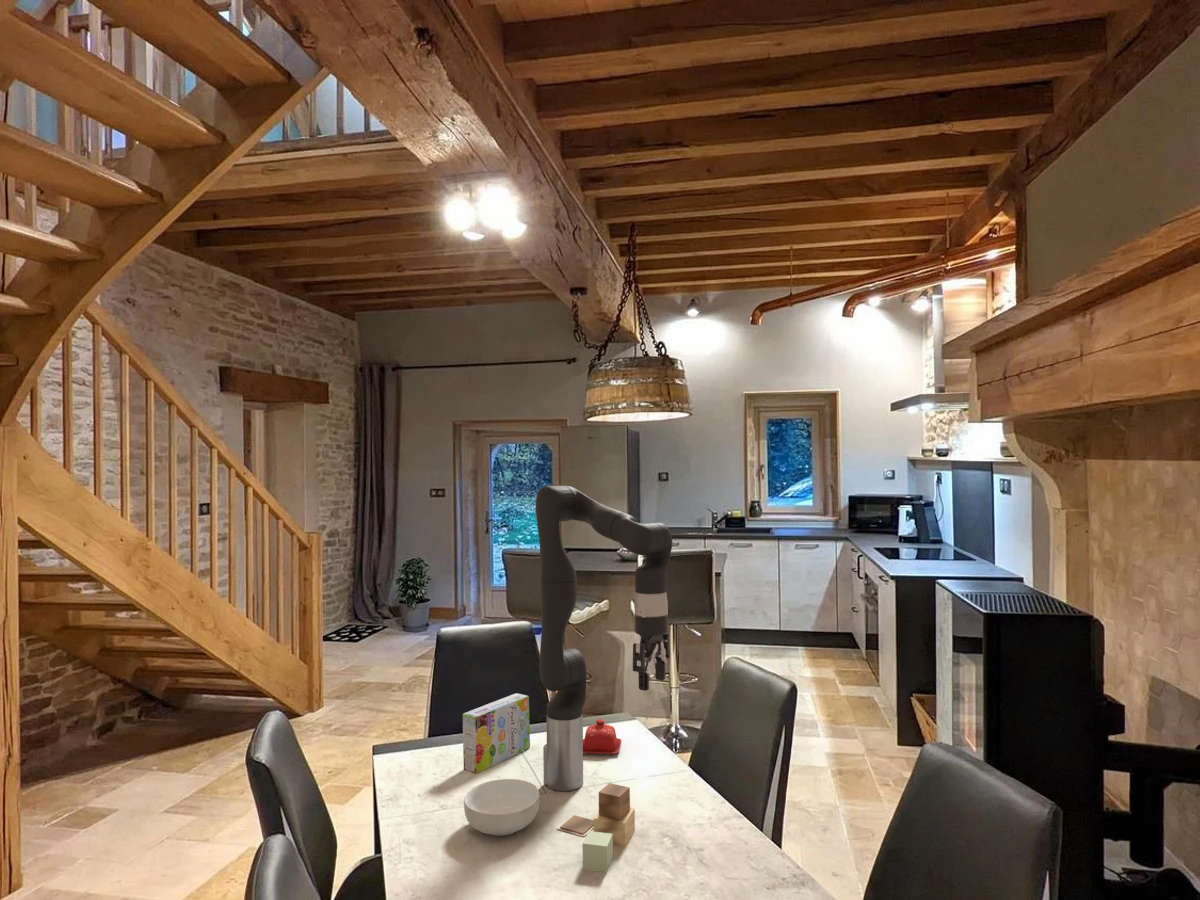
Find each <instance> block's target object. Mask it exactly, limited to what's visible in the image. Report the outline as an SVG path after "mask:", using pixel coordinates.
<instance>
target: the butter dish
mask: <svg viewBox="0 0 1200 900" xmlns="http://www.w3.org/2000/svg"><path fill="white" fill-rule="evenodd" d="M605 722H606V721H605V719H602V718H597V719H596V721H595V723H596V724H591V725H589V726H587V728H586V731H585V735H584V737H583V754H586V755H589V754H590V755H616V754H618V753H619V752H620V751H621V745H622V739H621V738H618V737H617V732H616V728H615V727H614V726H613V725H610V724H607V723H605Z"/></svg>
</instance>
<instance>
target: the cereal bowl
mask: <svg viewBox="0 0 1200 900" xmlns="http://www.w3.org/2000/svg"><path fill="white" fill-rule="evenodd" d="M539 808H540V790H539V789H538V787H537V786H536V785H534V784H533V782H532V783H531V781H530V782H529V781H527V780H523V779H517V778H499V779H494V780H493V779H492V780H489V781H485V782H482V783H479V784H477V785H475V786H473V787H472V788H471V789H469V790H468V791H467V792H466V793H465V794H464V798H463V811H464V815H465V818H466V821H468V824H469V825H470V826H472V828H474V829H475V830H477V831H479V832H480V833H484V834H488V835H492V836H495V837H497V836H501V837H502V836H508V835H512V834H513V833H515V832H518V831H521V830H522V829H523V828H526V827H527V826H528V825H529V824H531V823H532V822H533V820H534V819H535V818H536V816H537V814H538V812H539Z"/></svg>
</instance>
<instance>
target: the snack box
mask: <svg viewBox="0 0 1200 900" xmlns="http://www.w3.org/2000/svg"><path fill="white" fill-rule="evenodd" d="M530 731H531V730H530V697H529V695H526V694H521V693H518V692H517V693H513V694H510V695H508V696H506V697H503V698H500V699H497V700H495V701H492V702H489V703H488V704H487V703H486V704H484V705H482V706H480V707H476V708H474V709H471V710H469V711H467V712H464V713H462V744H463V745H462V749H463V750H462V751H463V752H462V753H463V754H462V755H463V770H464V771H468V772H472V773H474V774H479V773H481V772H483V771H485V770H487V769H489V768H491V767H493V766H495V765H497V764H499V763H501V762H503V761H505V760H507V759H510V758H512V757H514V756H516V755H518V754H521V753H523V752H525V751H527V750H529V749H530V748H531V739H530V738H531V735H530V734H531V733H530Z"/></svg>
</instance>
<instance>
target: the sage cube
mask: <svg viewBox="0 0 1200 900" xmlns="http://www.w3.org/2000/svg"><path fill="white" fill-rule="evenodd" d="M613 859H614V845H613V834H611V833H602V832H594V830H591V831H589V832H588V834H587V835H586V836H585V837H584V840H583V842H582V870H588V871H597V872H604V873H607V872H608V871H609V869H610V867H611V864H612V862H613Z"/></svg>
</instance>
